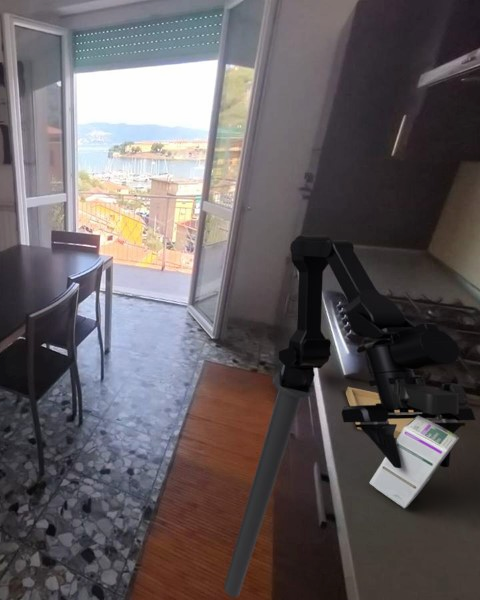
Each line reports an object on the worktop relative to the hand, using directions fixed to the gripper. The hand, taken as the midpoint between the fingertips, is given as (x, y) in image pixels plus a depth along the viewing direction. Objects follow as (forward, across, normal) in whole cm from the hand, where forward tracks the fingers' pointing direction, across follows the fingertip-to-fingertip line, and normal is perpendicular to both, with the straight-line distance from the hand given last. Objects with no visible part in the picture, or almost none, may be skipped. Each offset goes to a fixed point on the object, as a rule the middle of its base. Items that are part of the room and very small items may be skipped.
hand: (421, 467), depth 59 cm
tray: (-8, +13, +21) cm, 26 cm away
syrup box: (+4, -1, +7) cm, 8 cm away
